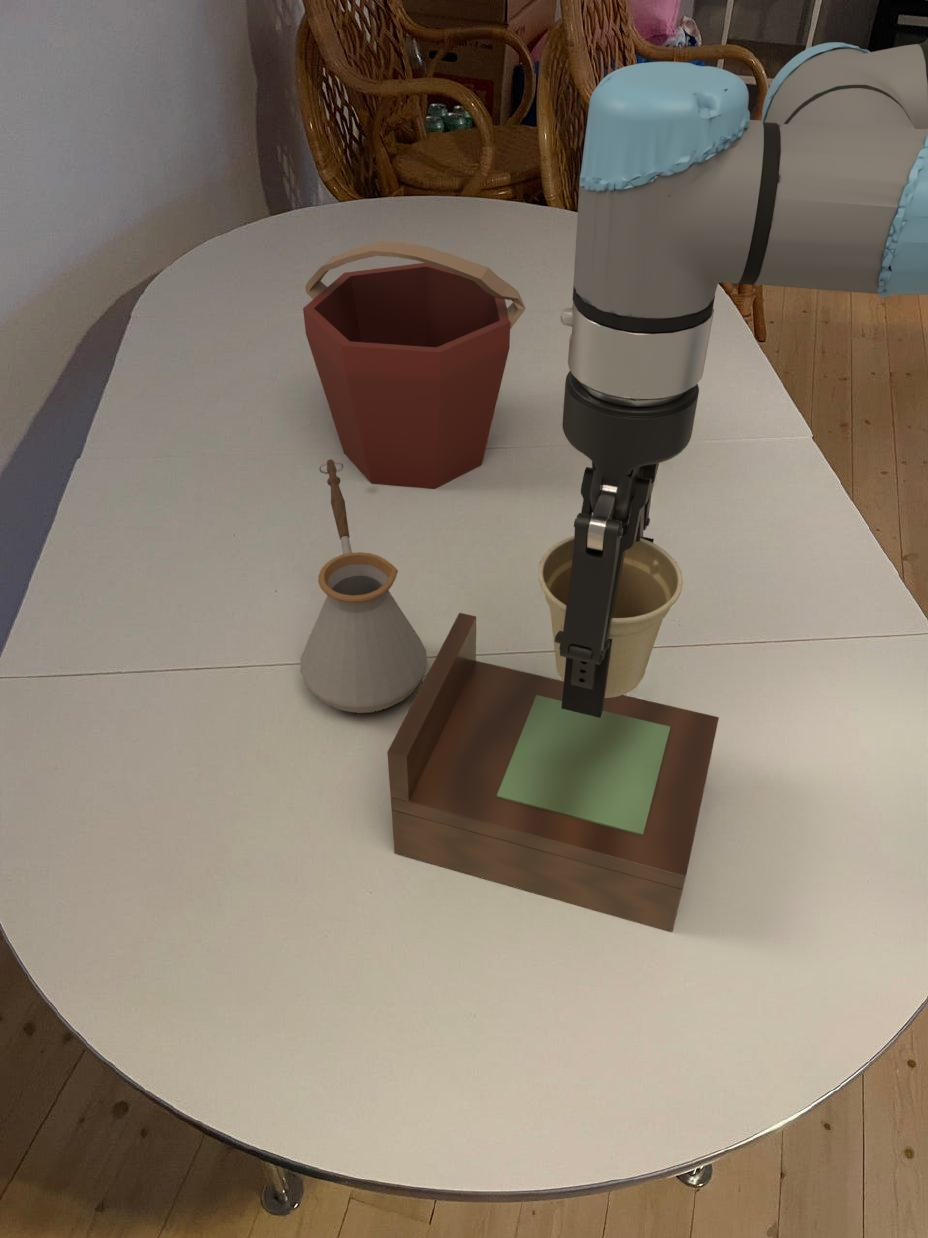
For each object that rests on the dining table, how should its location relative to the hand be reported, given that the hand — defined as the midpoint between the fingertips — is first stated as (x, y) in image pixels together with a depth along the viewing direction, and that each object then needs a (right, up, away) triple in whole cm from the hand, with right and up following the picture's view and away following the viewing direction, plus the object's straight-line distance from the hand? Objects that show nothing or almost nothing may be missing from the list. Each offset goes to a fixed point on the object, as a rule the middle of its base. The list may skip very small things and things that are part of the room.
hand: (597, 665), depth 74 cm
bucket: (-15, +23, +52) cm, 59 cm away
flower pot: (0, 0, 0) cm, 1 cm away
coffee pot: (-20, 0, +26) cm, 33 cm away
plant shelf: (-2, -12, +11) cm, 17 cm away
